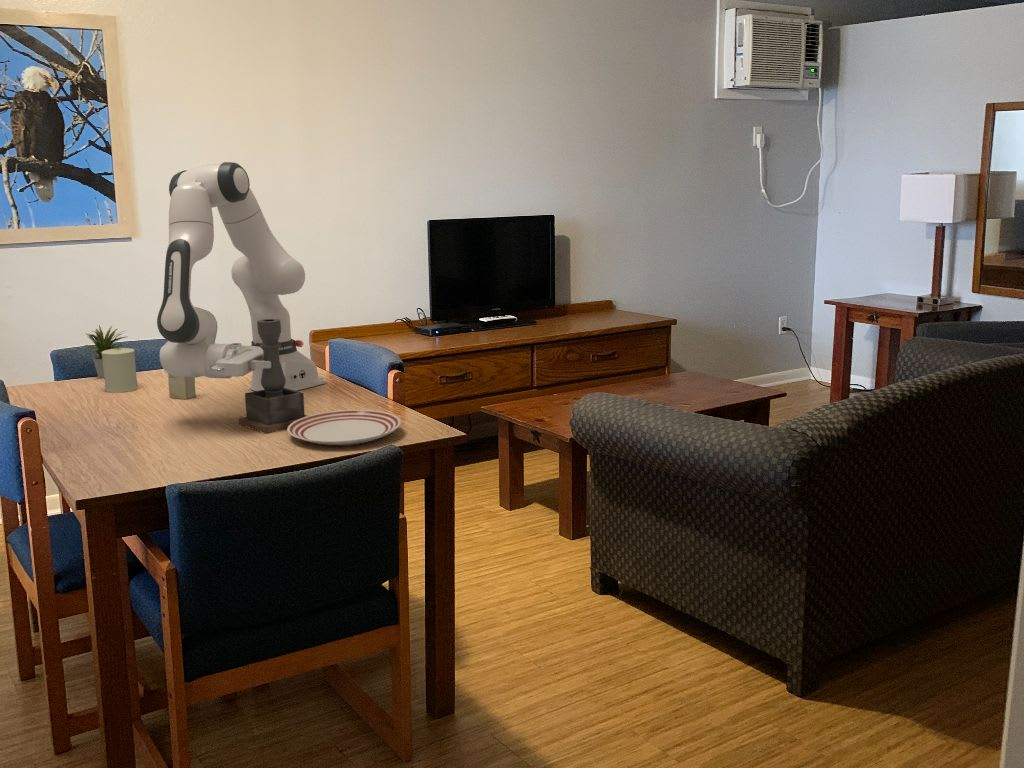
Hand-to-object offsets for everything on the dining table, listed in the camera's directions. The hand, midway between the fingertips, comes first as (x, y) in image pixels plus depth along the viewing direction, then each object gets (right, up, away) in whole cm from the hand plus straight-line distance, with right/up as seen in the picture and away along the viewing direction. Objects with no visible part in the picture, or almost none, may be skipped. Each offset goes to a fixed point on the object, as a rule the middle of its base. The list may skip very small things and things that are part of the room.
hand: (275, 362), depth 254 cm
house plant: (-67, -4, +61) cm, 90 cm away
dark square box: (-1, -16, +4) cm, 16 cm away
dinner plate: (+19, -18, -8) cm, 28 cm away
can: (-56, -7, +44) cm, 71 cm away
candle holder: (-1, -14, +3) cm, 15 cm away
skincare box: (-34, -9, +33) cm, 49 cm away
